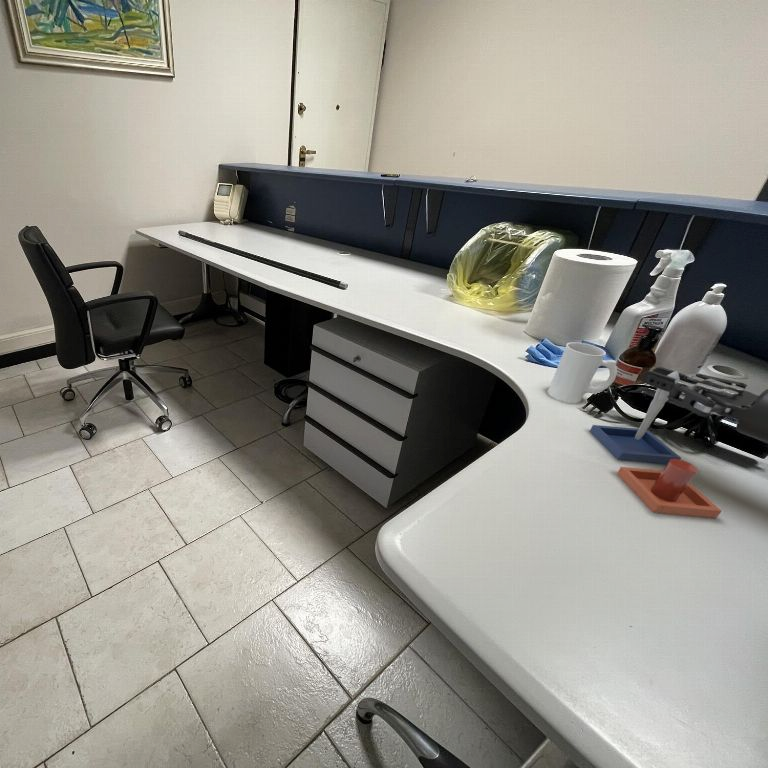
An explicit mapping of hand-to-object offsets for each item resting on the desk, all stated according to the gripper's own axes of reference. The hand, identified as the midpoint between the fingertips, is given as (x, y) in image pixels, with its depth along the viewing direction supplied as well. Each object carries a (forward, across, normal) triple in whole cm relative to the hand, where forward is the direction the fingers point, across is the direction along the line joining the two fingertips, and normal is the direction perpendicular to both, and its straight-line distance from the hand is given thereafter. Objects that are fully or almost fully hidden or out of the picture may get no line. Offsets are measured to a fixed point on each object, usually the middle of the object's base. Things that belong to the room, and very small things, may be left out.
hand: (650, 374), depth 70 cm
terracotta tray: (-11, +10, +15) cm, 21 cm away
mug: (+12, -9, +15) cm, 21 cm away
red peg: (-11, +10, +14) cm, 20 cm away
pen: (-3, 0, +12) cm, 13 cm away
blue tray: (-3, 0, +15) cm, 15 cm away
